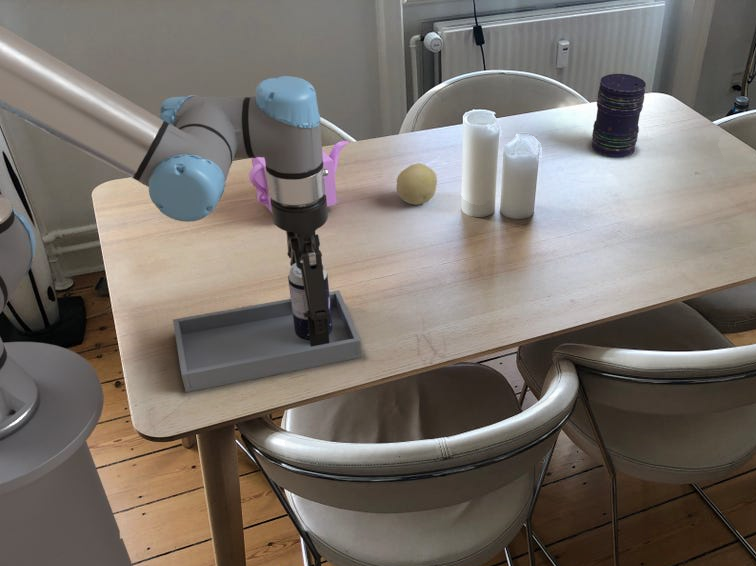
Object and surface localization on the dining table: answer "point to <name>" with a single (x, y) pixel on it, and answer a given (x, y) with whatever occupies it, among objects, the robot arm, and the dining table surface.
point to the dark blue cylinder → (618, 115)
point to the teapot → (329, 163)
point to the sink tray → (257, 343)
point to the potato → (416, 184)
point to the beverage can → (303, 302)
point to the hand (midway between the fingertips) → (312, 324)
